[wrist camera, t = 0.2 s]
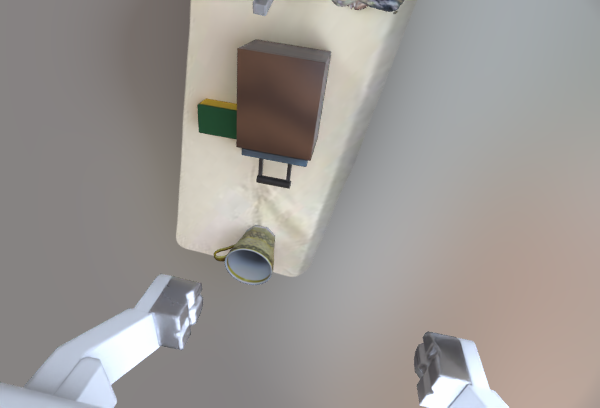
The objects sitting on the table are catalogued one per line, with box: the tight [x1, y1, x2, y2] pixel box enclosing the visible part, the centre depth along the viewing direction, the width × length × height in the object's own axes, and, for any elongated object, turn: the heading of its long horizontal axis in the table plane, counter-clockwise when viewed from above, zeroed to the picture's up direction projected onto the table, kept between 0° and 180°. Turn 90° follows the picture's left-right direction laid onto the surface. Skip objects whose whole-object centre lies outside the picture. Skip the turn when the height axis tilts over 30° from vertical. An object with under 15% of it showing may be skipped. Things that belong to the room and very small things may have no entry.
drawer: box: [242, 148, 308, 189], centre depth 54 cm, size 19×11×7 cm, turn 173°
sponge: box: [197, 99, 237, 139], centre depth 58 cm, size 5×7×4 cm
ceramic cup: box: [214, 225, 275, 285], centre depth 70 cm, size 13×10×10 cm
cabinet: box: [237, 40, 331, 161], centre depth 51 cm, size 15×12×9 cm
